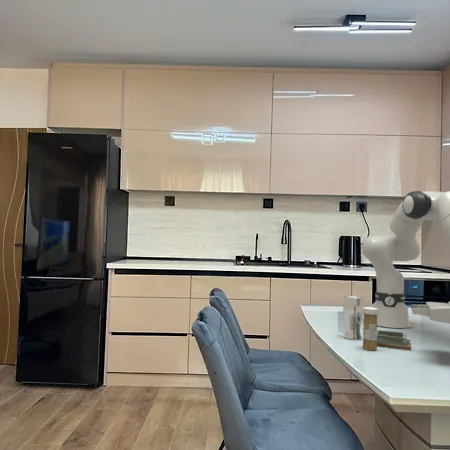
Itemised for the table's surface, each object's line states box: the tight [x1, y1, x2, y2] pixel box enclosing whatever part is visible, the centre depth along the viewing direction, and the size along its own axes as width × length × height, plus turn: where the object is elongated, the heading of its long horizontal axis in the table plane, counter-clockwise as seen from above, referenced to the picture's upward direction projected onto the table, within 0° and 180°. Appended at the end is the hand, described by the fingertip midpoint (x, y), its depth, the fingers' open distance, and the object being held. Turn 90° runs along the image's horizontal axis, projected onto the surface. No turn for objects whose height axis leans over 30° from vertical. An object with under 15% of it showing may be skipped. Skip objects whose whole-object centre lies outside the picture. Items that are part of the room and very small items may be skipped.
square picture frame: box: [376, 329, 412, 351], centre depth 146 cm, size 13×13×4 cm
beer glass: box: [342, 295, 364, 341], centre depth 154 cm, size 7×7×15 cm
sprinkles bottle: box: [362, 306, 378, 351], centre depth 138 cm, size 5×5×13 cm
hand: (411, 309), depth 133 cm, fingers open, 8 cm apart
